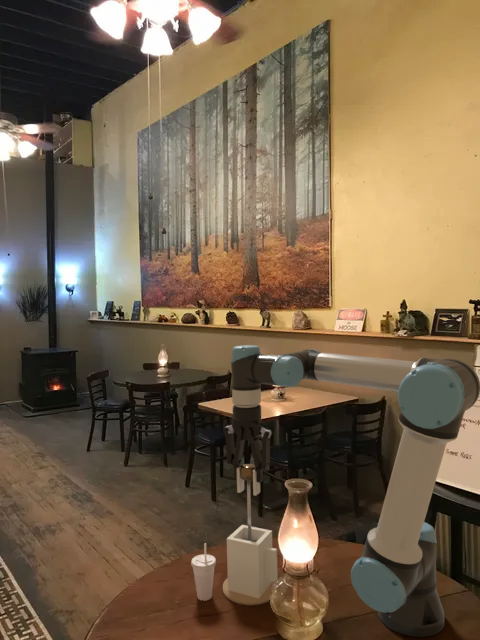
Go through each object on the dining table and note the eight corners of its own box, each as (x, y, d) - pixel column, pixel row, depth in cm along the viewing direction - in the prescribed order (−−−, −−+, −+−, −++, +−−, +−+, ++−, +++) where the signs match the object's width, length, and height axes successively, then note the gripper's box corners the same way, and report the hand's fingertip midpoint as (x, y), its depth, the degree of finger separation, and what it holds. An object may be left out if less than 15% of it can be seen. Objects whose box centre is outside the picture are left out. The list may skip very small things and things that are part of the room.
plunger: (264, 544, 137) (262, 464, 136) (255, 554, 131) (253, 471, 131) (245, 540, 139) (243, 461, 138) (235, 550, 134) (233, 468, 133)
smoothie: (213, 605, 129) (211, 550, 128) (189, 602, 130) (187, 548, 130) (219, 590, 135) (218, 538, 135) (196, 588, 136) (194, 537, 136)
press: (287, 580, 139) (286, 528, 139) (265, 611, 126) (263, 553, 125) (238, 568, 146) (237, 518, 145) (212, 596, 133) (211, 541, 132)
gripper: (282, 404, 133) (284, 492, 134) (225, 399, 141) (227, 483, 142) (270, 409, 127) (272, 502, 128) (211, 404, 134) (213, 492, 135)
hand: (248, 492), depth 135 cm, fingers closed on plunger, 4 cm apart
